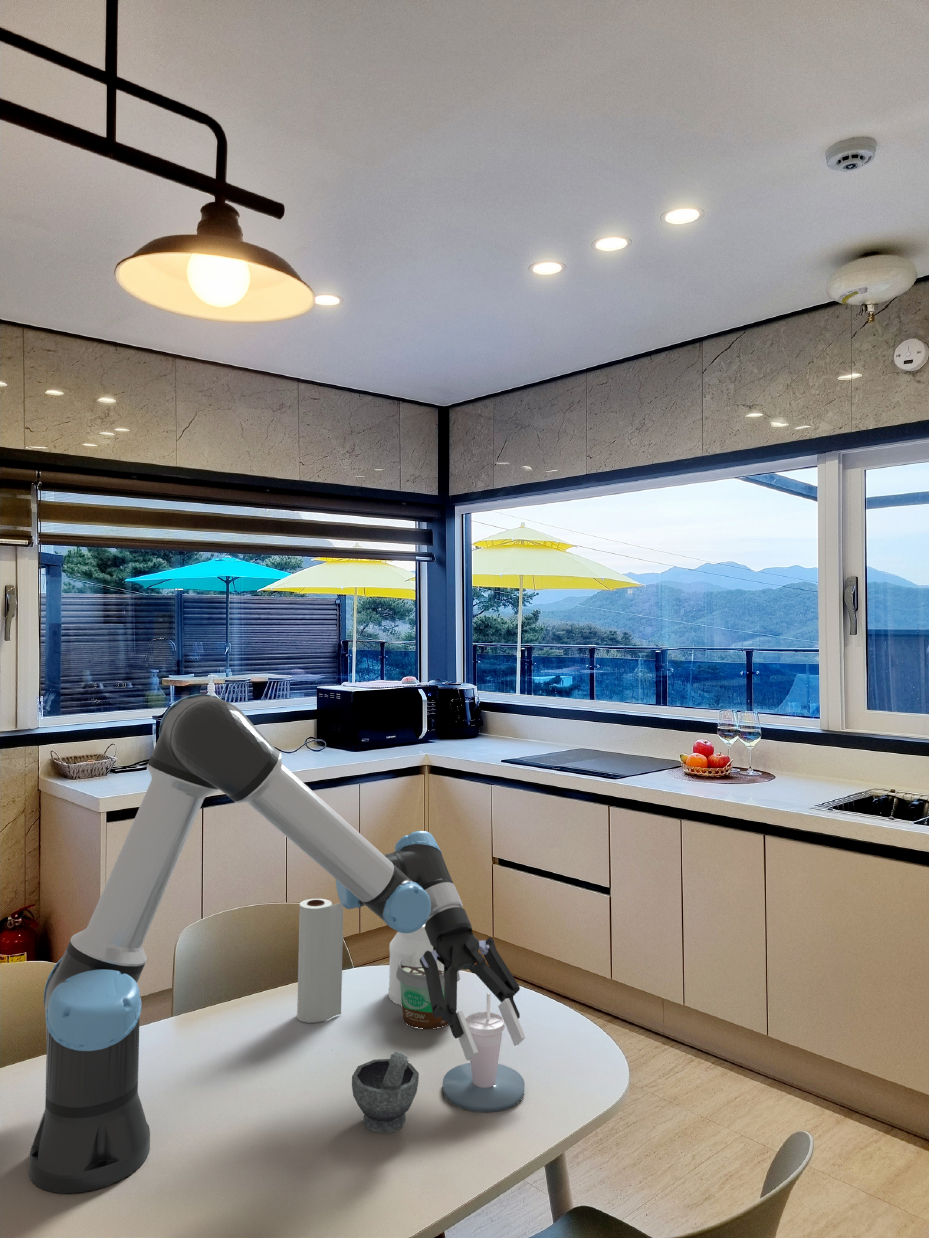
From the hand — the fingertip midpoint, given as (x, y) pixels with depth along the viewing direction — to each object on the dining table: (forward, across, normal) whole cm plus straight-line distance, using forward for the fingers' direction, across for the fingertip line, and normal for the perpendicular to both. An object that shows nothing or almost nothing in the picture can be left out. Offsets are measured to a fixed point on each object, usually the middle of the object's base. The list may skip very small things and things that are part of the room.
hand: (496, 1048), depth 136 cm
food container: (-14, -4, -26) cm, 29 cm away
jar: (-22, -9, -34) cm, 41 cm away
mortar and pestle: (+4, +18, -8) cm, 20 cm away
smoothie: (+2, 0, -7) cm, 8 cm away
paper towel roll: (-23, +12, -34) cm, 43 cm away
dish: (+3, 0, -8) cm, 8 cm away
